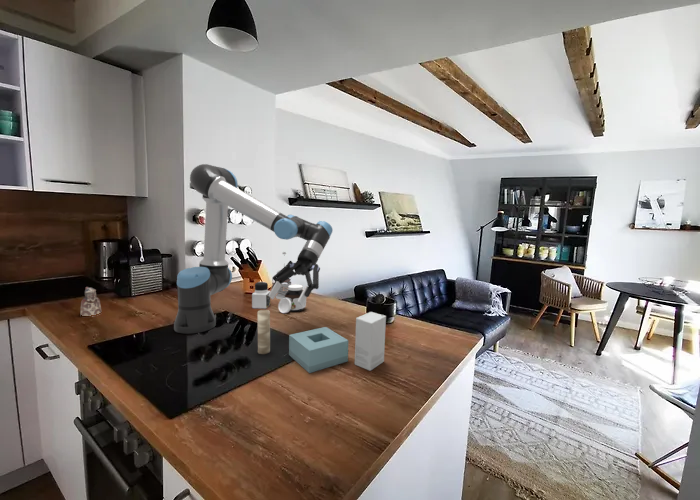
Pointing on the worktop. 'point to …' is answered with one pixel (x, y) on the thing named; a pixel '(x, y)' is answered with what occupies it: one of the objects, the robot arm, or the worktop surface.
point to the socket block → (318, 349)
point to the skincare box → (370, 340)
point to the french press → (282, 293)
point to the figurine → (90, 303)
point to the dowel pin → (263, 331)
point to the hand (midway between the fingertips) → (284, 300)
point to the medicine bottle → (261, 296)
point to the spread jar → (292, 300)
